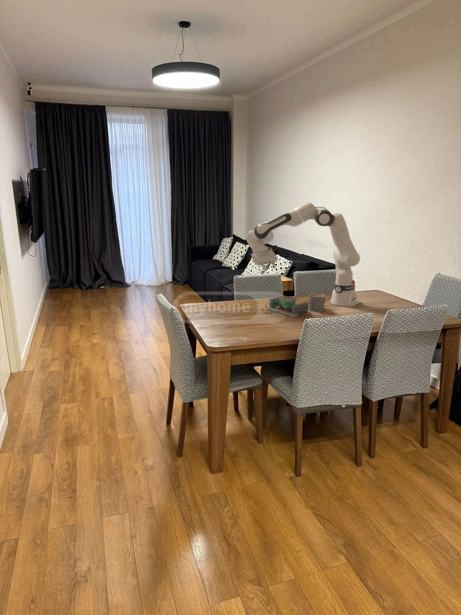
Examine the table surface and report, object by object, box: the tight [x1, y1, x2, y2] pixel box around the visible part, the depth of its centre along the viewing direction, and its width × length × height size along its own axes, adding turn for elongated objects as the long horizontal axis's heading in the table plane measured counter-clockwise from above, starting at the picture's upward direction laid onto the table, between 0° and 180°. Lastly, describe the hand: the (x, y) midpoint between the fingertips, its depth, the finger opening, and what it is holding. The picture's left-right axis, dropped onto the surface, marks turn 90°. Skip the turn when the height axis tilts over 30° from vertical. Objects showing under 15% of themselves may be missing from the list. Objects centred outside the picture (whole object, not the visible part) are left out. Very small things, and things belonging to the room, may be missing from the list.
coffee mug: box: [308, 292, 326, 313], centre depth 293 cm, size 13×10×10 cm
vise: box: [266, 300, 311, 318], centre depth 288 cm, size 16×23×7 cm
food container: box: [278, 295, 298, 312], centre depth 286 cm, size 12×6×10 cm, turn 97°
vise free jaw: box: [269, 295, 287, 308], centre depth 294 cm, size 14×3×6 cm, turn 134°
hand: (270, 268), depth 294 cm, fingers open, 7 cm apart
